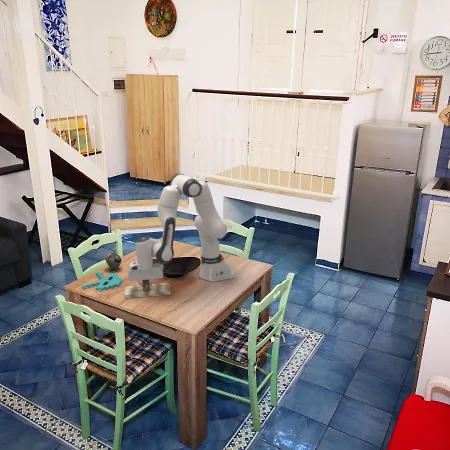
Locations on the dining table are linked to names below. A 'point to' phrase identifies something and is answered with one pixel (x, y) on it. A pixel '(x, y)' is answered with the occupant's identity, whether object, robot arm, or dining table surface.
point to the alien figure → (106, 282)
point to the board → (147, 291)
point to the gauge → (146, 284)
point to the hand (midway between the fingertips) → (146, 285)
